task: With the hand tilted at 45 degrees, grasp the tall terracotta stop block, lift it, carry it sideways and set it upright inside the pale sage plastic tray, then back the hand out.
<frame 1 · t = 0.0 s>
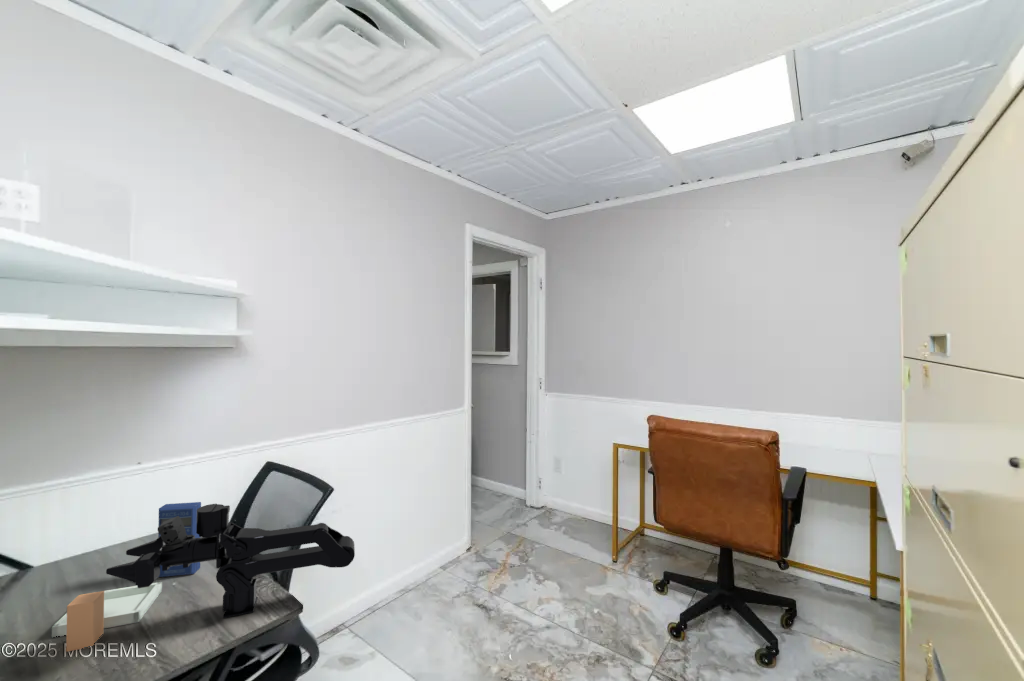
hand: (116, 561, 100), 17 cm above the table, tool horizontal, fingers open, 9 cm apart
tray: (111, 612, 107), on the table
electronic device: (179, 573, 126), on the table
stop block: (85, 642, 96), on the table
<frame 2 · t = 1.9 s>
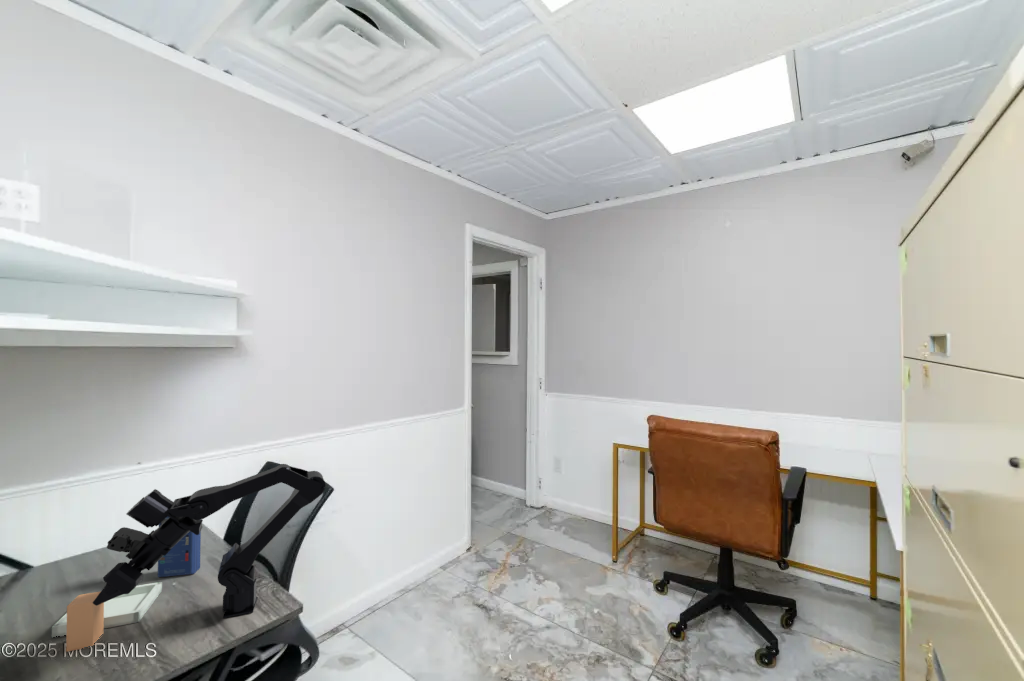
hand: (105, 592, 98), 11 cm above the table, tool tilted 45°, fingers open, 9 cm apart
nothing on the table moved.
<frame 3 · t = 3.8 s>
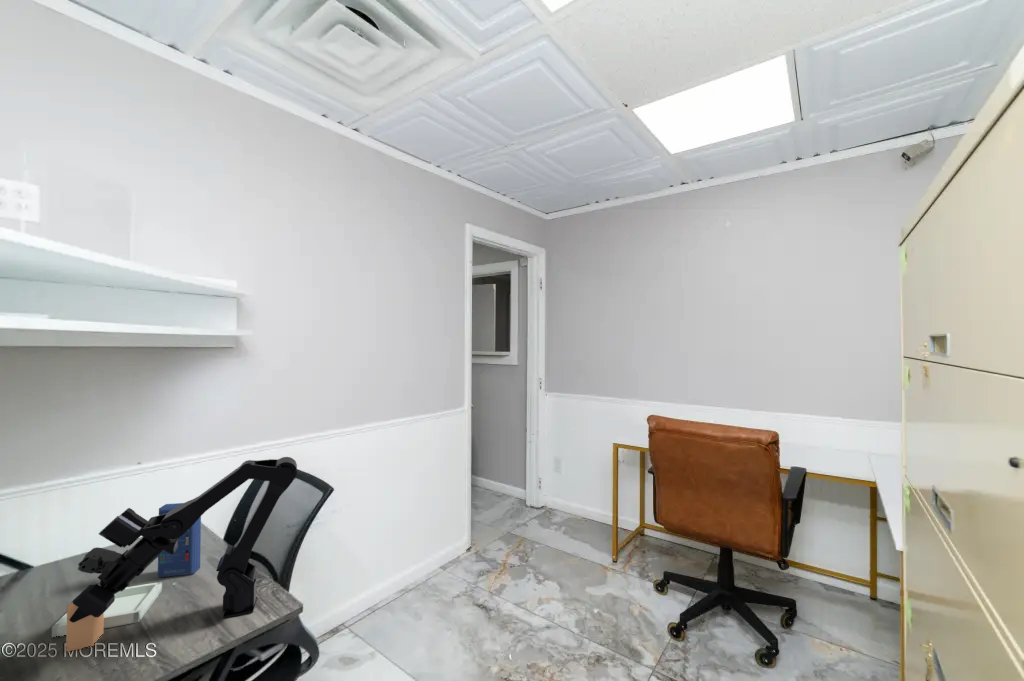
hand: (77, 614, 96), 7 cm above the table, tool tilted 45°, fingers closed on stop block, 4 cm apart
stop block: (85, 642, 96), on the table, touching gripper
everything else where it was.
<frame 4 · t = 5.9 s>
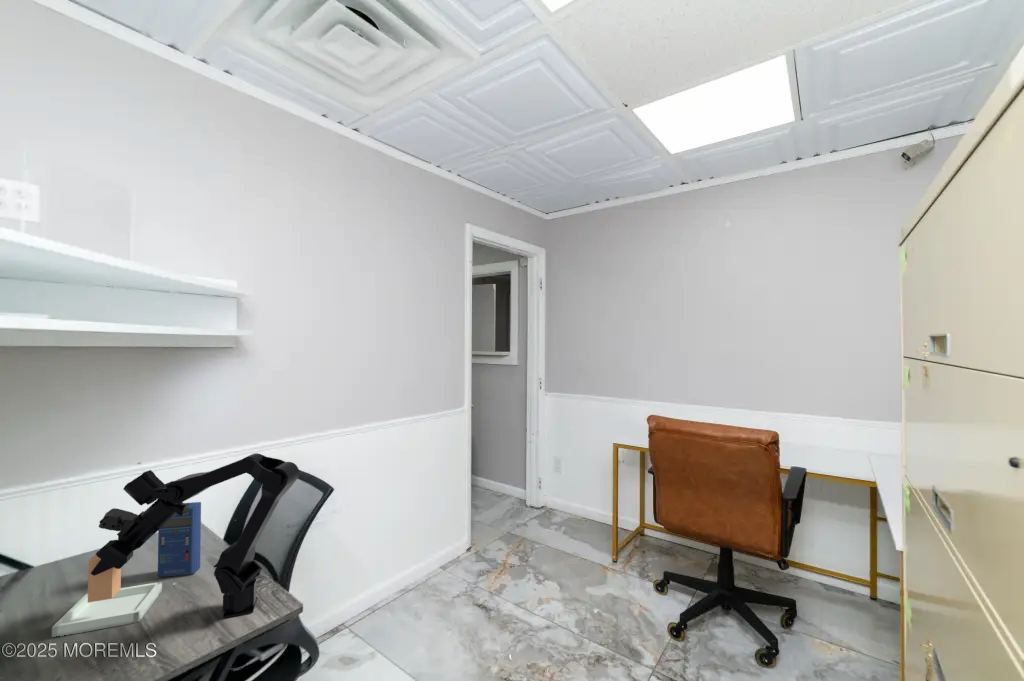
hand: (97, 569, 104), 13 cm above the table, tool tilted 45°, fingers closed on stop block, 4 cm apart
stop block: (104, 595, 104), point 6 cm above the table, touching gripper
everything else where it was.
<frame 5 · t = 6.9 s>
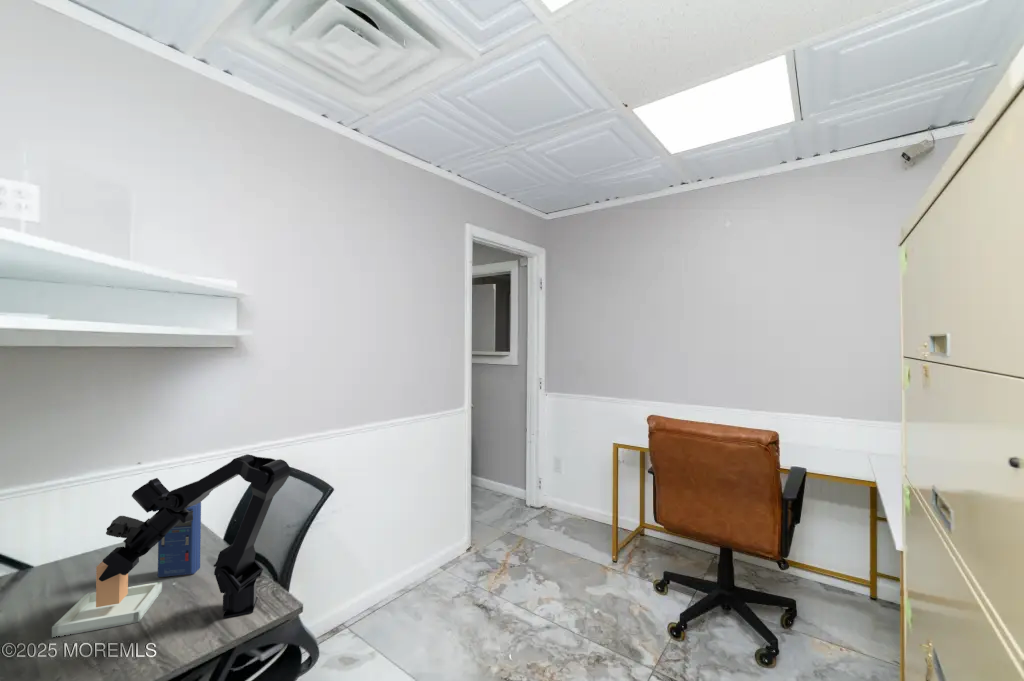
hand: (105, 575, 107), 10 cm above the table, tool tilted 45°, fingers closed on stop block, 4 cm apart
stop block: (112, 600, 107), point 3 cm above the table, touching gripper
everything else where it was.
when the fingers open (8 cm above the table, at t = 8.0 s): stop block stays where it is, resting on tray.
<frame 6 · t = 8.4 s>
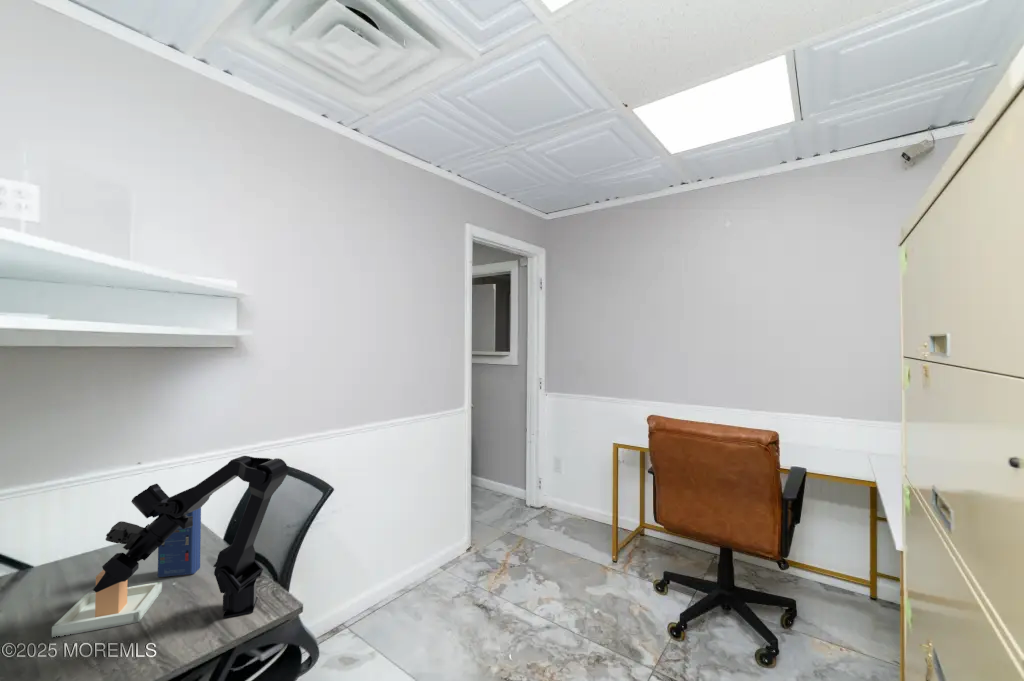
hand: (105, 580, 107), 8 cm above the table, tool tilted 45°, fingers open, 9 cm apart
stop block: (111, 610, 107), point 1 cm above the table, touching tray
everything else where it was.
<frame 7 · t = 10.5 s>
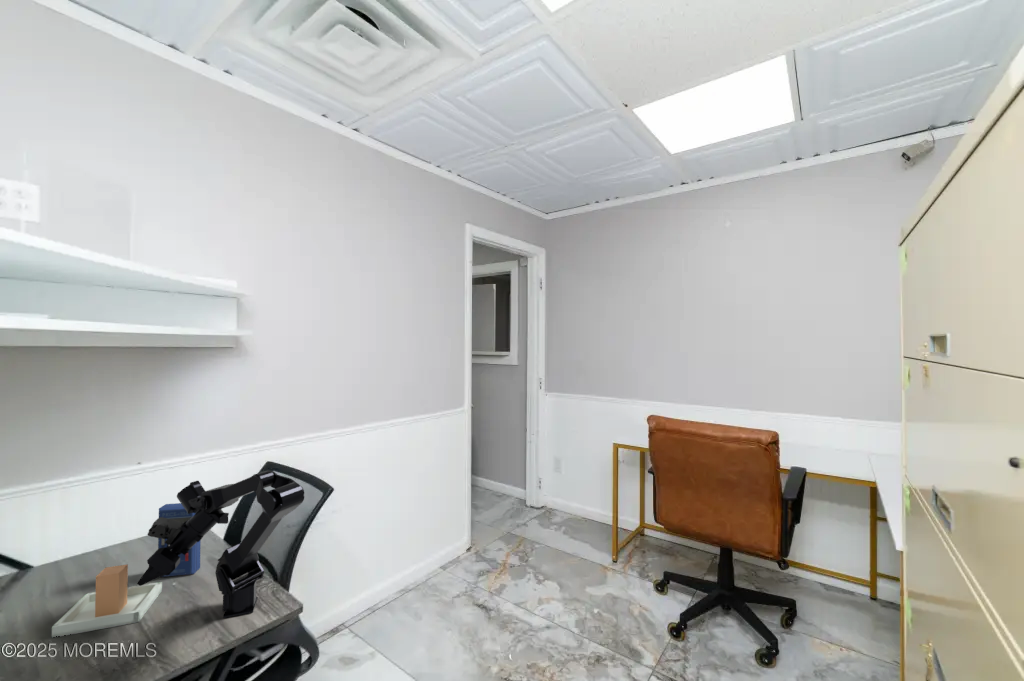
hand: (146, 575, 110), 8 cm above the table, tool tilted 45°, fingers open, 9 cm apart
nothing on the table moved.
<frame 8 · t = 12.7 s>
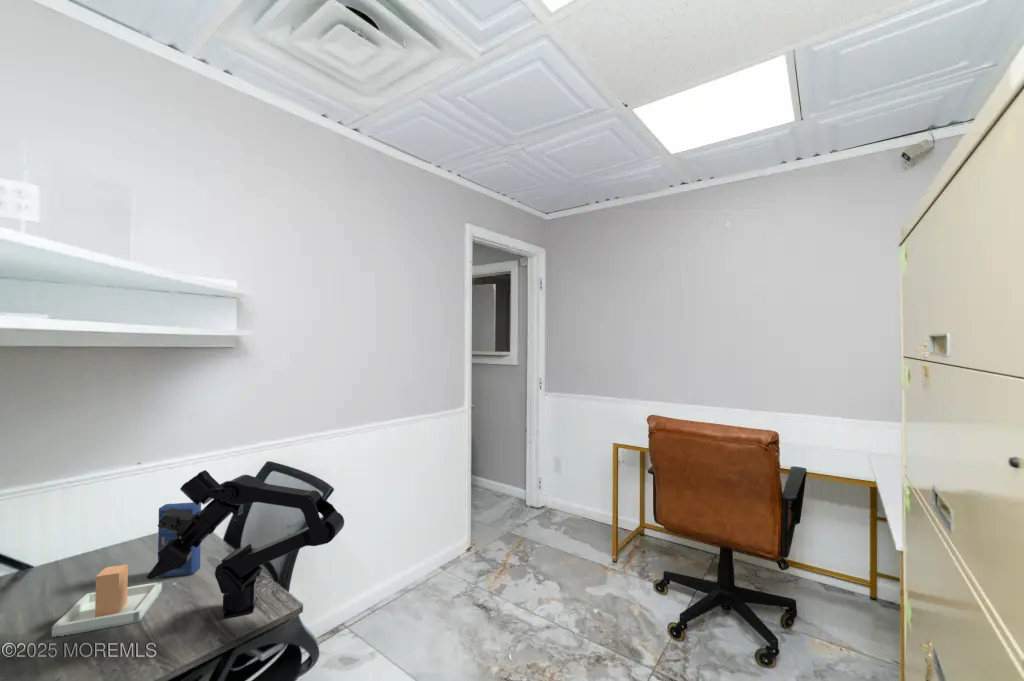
hand: (156, 568, 104), 13 cm above the table, tool tilted 45°, fingers open, 9 cm apart
nothing on the table moved.
at the end: stop block inside the target area on the tray (0.0 cm from its centre), point 0.6 cm above the tray's base; stop block tilted 0°; the gripper is holding nothing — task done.
